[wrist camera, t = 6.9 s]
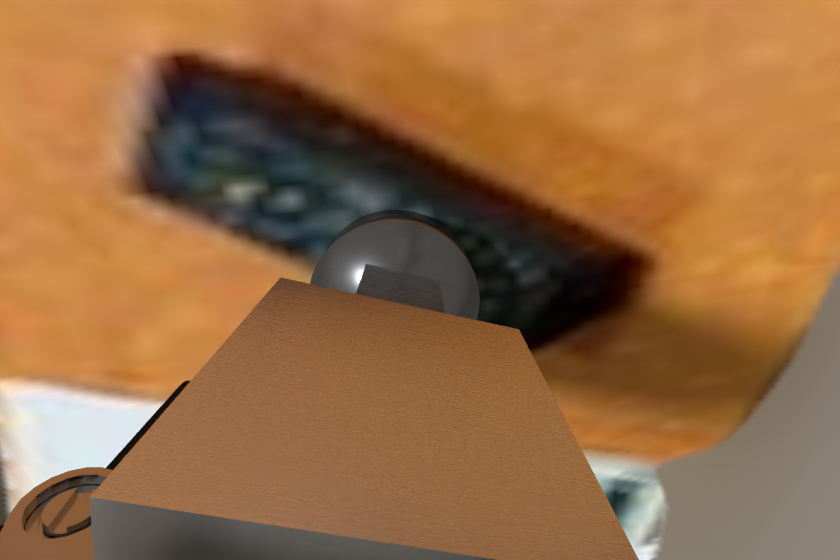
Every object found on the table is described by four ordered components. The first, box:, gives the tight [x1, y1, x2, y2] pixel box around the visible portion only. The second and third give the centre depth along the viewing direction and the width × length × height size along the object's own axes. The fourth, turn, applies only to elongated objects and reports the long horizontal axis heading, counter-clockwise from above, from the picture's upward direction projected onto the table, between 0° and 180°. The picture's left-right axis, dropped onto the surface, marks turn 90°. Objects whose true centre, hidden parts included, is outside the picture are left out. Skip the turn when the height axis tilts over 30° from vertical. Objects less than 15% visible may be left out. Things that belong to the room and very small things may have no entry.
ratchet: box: [310, 210, 480, 320], centre depth 18 cm, size 20×7×6 cm, turn 166°
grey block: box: [90, 278, 639, 560], centre depth 8 cm, size 6×6×6 cm
